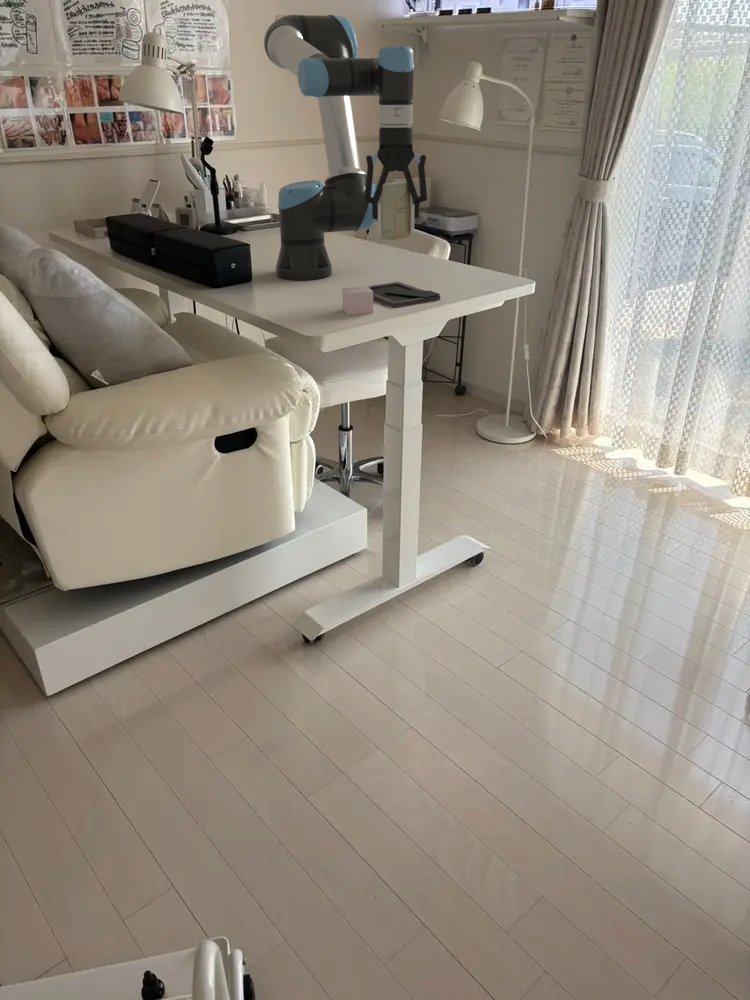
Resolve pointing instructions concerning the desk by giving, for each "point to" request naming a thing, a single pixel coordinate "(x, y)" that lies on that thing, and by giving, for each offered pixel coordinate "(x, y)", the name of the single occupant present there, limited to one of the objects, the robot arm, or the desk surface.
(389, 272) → the desk surface
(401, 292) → the picture frame
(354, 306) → the pink box
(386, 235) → the skincare box
